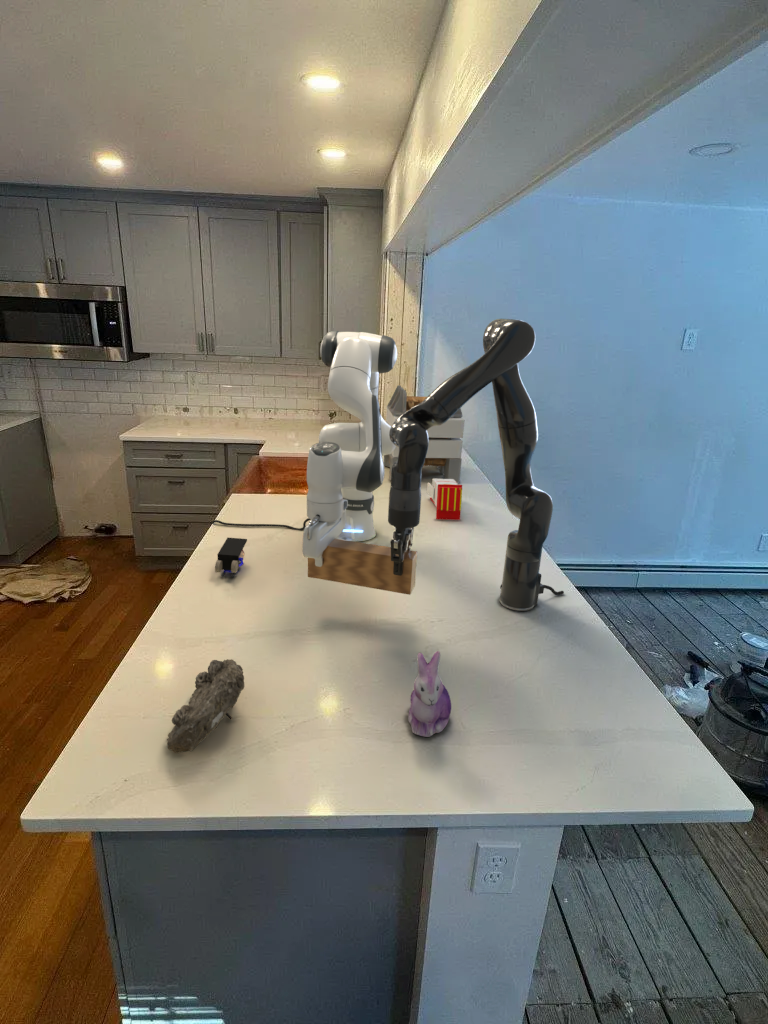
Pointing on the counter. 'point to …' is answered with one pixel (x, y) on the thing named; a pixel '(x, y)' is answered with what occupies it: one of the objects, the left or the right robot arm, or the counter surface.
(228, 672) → the fossil
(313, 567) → the bar
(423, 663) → the figurine
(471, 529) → the counter surface
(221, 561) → the figurine character
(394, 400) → the transformer
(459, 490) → the toy
